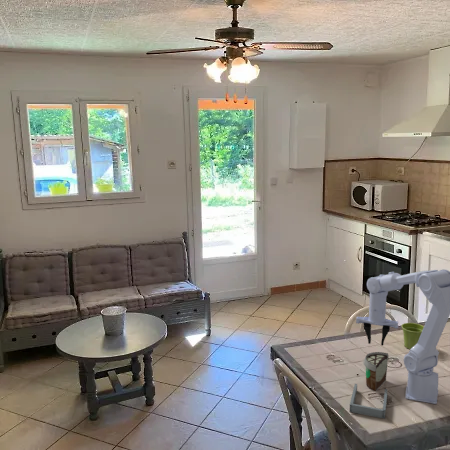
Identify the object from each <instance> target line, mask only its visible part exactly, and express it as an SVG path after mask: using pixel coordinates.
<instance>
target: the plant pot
mask: <svg viewBox="0 0 450 450" xmlns="http://www.w3.org/2000/svg"><path fill="white" fill-rule="evenodd" d="M401 328H402V332H403V333H402V334H403V342H404V343H403V345H404V347H405V348H406V349H408V350H410V349H411V348H412V347H414V346H415V345H416V344H417V343H418V340H419V338H420V335H421V333H422V330H423V328H424V325H422V324H419V323H415V322H405V323H404V322H403V324H401Z"/></svg>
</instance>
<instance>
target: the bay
mask: <svg viewBox="0 0 450 450" xmlns="http://www.w3.org/2000/svg"><path fill="white" fill-rule="evenodd" d="M357 392H358V383H354V385H353V390H352V394H351V397H350V401H349V412H350V413H354V414H360V415H365V416H370V417H373V418H374V417H375V418H380V419H386V410H387V402H388V388H384V395H383V403H382V408H377V407H372V406H368V405H367V406H366V405H362V404H356V403H355V401H356V398H357Z"/></svg>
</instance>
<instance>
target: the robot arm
mask: <svg viewBox="0 0 450 450" xmlns="http://www.w3.org/2000/svg"><path fill="white" fill-rule="evenodd" d="M410 284H411V285H412V284H415V287H417V288H419V289H420V291H421V292H422V294H423V295H424V297H426V299H427V300H428V302H429V303H431V304H432V306H431V309H430V311H429V313H428V316H427V318H426V320H425V323H424V325H423V326H424V328H423V330H422V333H421V335H420V338H419V340H418V343H417V344H416V345H415V346H414V347H412V348H411V349H409V350H408V353H407V354H405V355H404V356H403V364H404V368H406V370H407V372H408V373H407V385H406V386H405V399H406V400H410V401H416V402H422V403H428V404H434V405H437V404H438V396H439V373H438V372H436V371H434V368H435V367H437V365H438V363H439V360H438V359H439V358H438V357H439V354H440V352H439V350H438V349H437V346H438V343H439V341H440V339H441V337H442V335H443V332H444V329H445V328H446V325H447V322H448V320H449V318H450V271H449V270H448V269H440V270H438V269H431V270H422V271H420V270H419V271H416V272H411V273H407V274H406V273H405V274H403V275H402V274H400V273H398V272H395V271H390V272H388V274H379V275H377V276H374V277H373V276H372V277H369V278H368V279H367V281H366V288H367V290H368V292H369V304H368V306H369V308H368V310H369V311H368V316H356V318H355V319H356V320H355V323H356V324H363V329H364V332H365V334H366V336H367V341H368V344H369V345H371V343H372V342H371V341H372V326H381V327H382V328H381V330H382V331H381V342H380V345H381V346H384V344H385V339H386V338H387V335H388V333H389V332H390V331H391V330H390V329H391V328H394V329H398V328H399V321H396V320H391V319H387V318H386V316H387V315H386V313H387V312H386V311H387V296H388V294H389V292H392V291H398V290H401V289H403V287H404V285H410Z"/></svg>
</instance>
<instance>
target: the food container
mask: <svg viewBox="0 0 450 450" xmlns="http://www.w3.org/2000/svg"><path fill="white" fill-rule="evenodd" d="M388 359H389V353H388V352H382V351H375V352H374V351H373V352H369V353H367V354H366V355H365V357H364V359H363V366H364V367H365V381H366V382H365V384H366V387H367V388H368V389H370V390H371V391H373V392H377V391H378V390H380V388H381V386H382V385H383V384H385V382H386V381H387V372H388V371H387V370H388V363H389V362H388Z"/></svg>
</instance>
